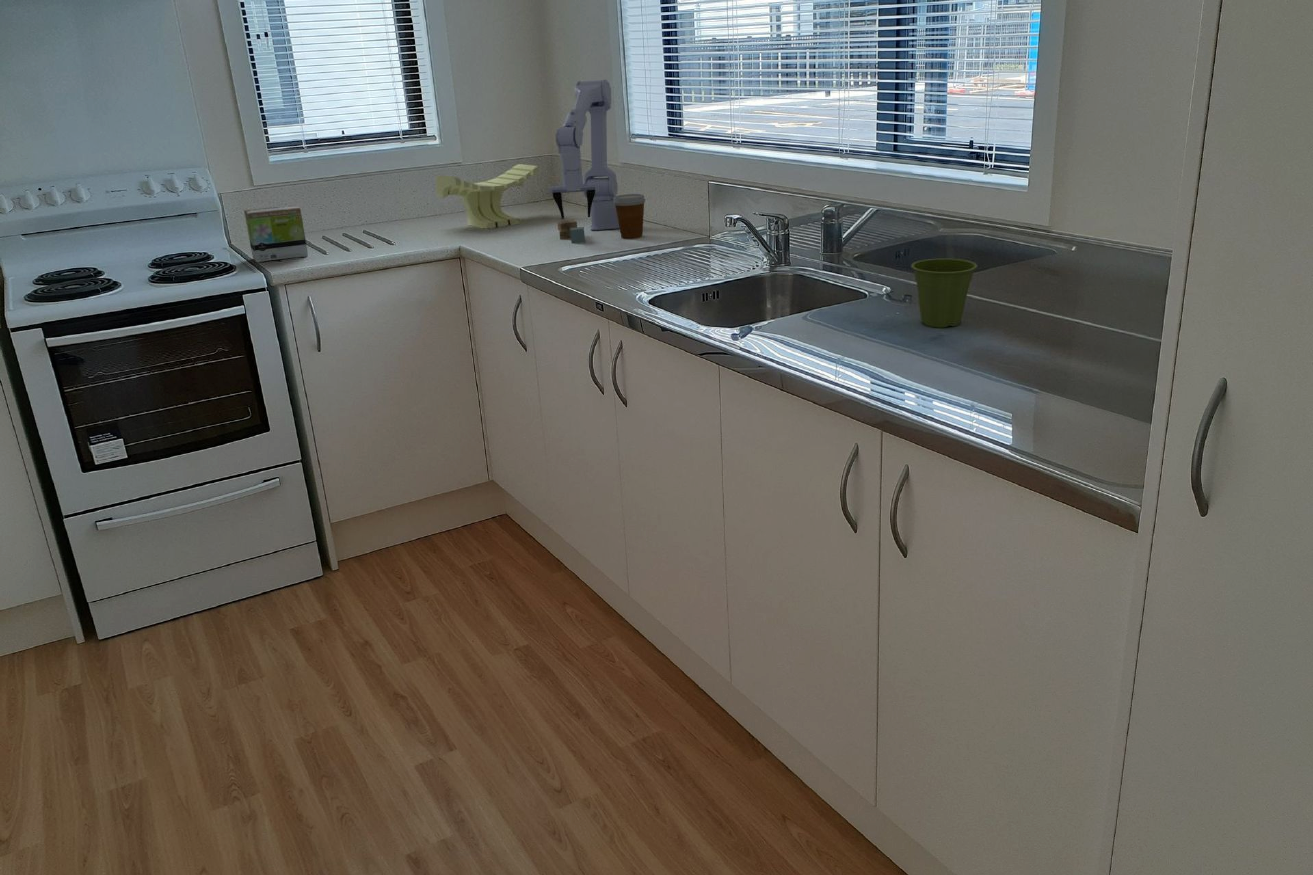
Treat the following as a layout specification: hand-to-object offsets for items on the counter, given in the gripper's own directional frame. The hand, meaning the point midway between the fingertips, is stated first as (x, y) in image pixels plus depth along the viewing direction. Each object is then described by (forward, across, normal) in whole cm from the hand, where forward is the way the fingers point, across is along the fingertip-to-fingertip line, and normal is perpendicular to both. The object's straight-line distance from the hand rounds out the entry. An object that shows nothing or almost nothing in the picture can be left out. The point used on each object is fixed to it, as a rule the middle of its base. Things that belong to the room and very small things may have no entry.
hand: (576, 217), depth 298 cm
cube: (+7, 0, 0) cm, 7 cm away
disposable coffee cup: (+7, +16, +1) cm, 18 cm away
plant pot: (+8, +69, -119) cm, 138 cm away
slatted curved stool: (+7, -29, +47) cm, 56 cm away
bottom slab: (+7, -3, +9) cm, 12 cm away
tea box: (+8, -90, +11) cm, 91 cm away
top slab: (+5, -3, +9) cm, 11 cm away
